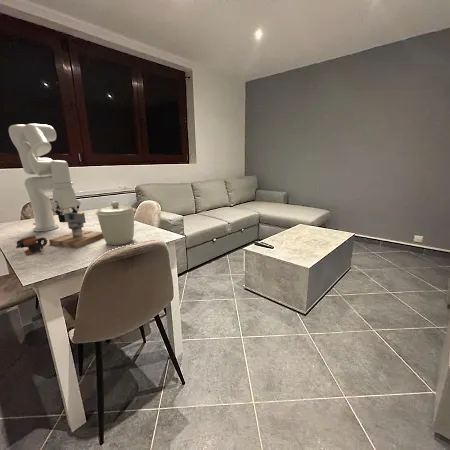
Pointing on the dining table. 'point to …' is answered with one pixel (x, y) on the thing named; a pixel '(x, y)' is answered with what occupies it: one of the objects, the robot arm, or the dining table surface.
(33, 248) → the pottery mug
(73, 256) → the dining table surface
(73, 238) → the base
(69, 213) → the cap
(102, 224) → the canister
